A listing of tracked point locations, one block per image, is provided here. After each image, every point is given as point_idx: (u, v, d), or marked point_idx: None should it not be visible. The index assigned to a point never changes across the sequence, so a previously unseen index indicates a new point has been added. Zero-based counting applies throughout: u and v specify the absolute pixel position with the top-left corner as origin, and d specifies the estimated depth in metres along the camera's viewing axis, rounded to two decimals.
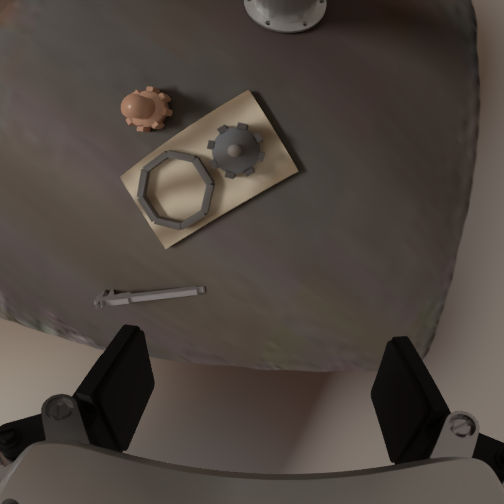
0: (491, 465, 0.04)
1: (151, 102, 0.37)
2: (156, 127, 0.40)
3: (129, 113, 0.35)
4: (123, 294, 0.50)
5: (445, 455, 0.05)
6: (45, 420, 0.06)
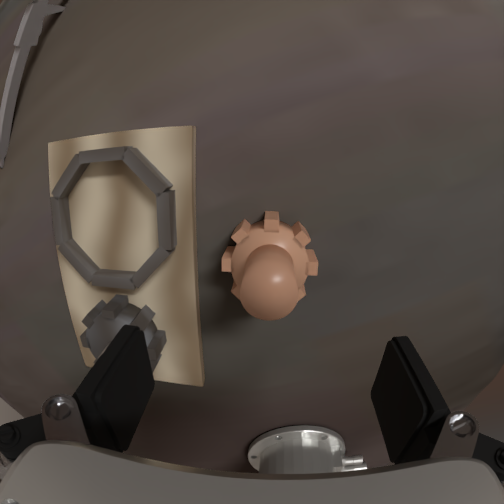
0: (491, 465, 0.04)
1: None
2: None
3: (256, 282, 0.17)
4: (35, 34, 0.17)
5: (445, 455, 0.05)
6: (45, 420, 0.06)
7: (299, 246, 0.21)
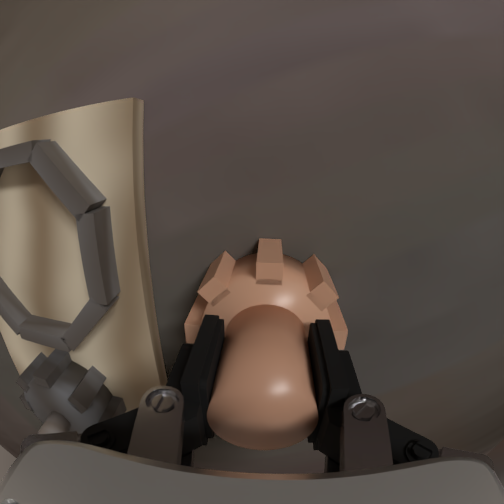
0: (398, 456, 0.06)
1: None
2: None
3: (237, 404, 0.08)
4: None
5: (360, 444, 0.06)
6: (150, 414, 0.07)
7: (318, 307, 0.12)
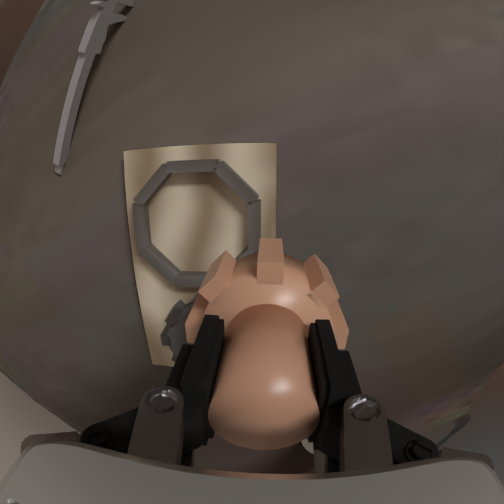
0: (398, 456, 0.06)
1: None
2: None
3: (239, 404, 0.08)
4: (100, 42, 0.21)
5: (360, 444, 0.06)
6: (150, 414, 0.07)
7: (319, 306, 0.12)
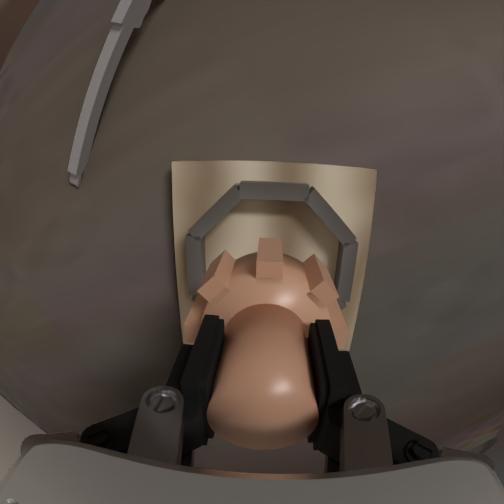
0: (398, 456, 0.06)
1: None
2: None
3: (237, 404, 0.08)
4: (141, 12, 0.15)
5: (360, 444, 0.06)
6: (150, 414, 0.07)
7: (318, 306, 0.12)
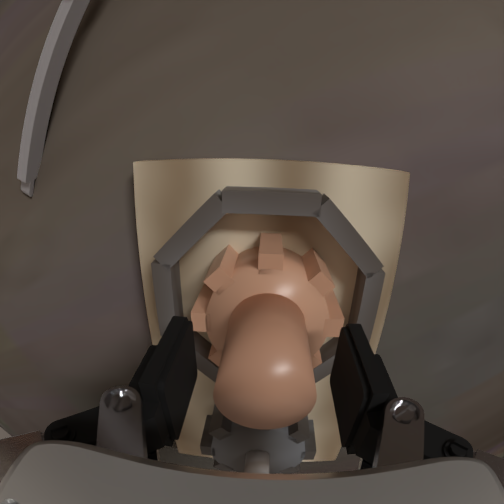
0: (437, 456, 0.05)
1: None
2: None
3: (242, 382, 0.09)
4: None
5: (395, 445, 0.06)
6: (107, 413, 0.06)
7: (316, 296, 0.13)
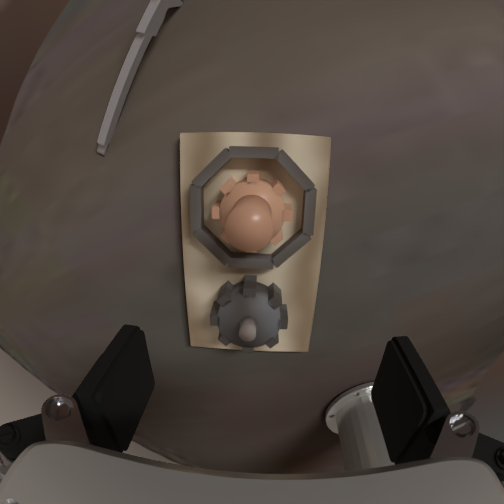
0: (491, 465, 0.04)
1: None
2: None
3: (238, 218, 0.21)
4: (158, 24, 0.21)
5: (445, 455, 0.05)
6: (45, 420, 0.06)
7: (276, 196, 0.25)
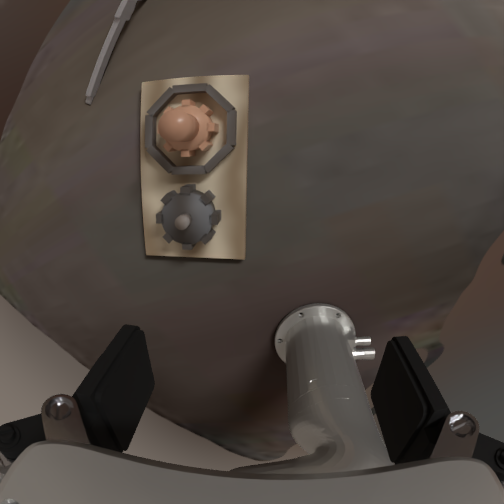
0: (491, 465, 0.04)
1: None
2: None
3: (166, 118, 0.28)
4: (129, 12, 0.29)
5: (445, 455, 0.05)
6: (45, 420, 0.06)
7: (202, 113, 0.32)
